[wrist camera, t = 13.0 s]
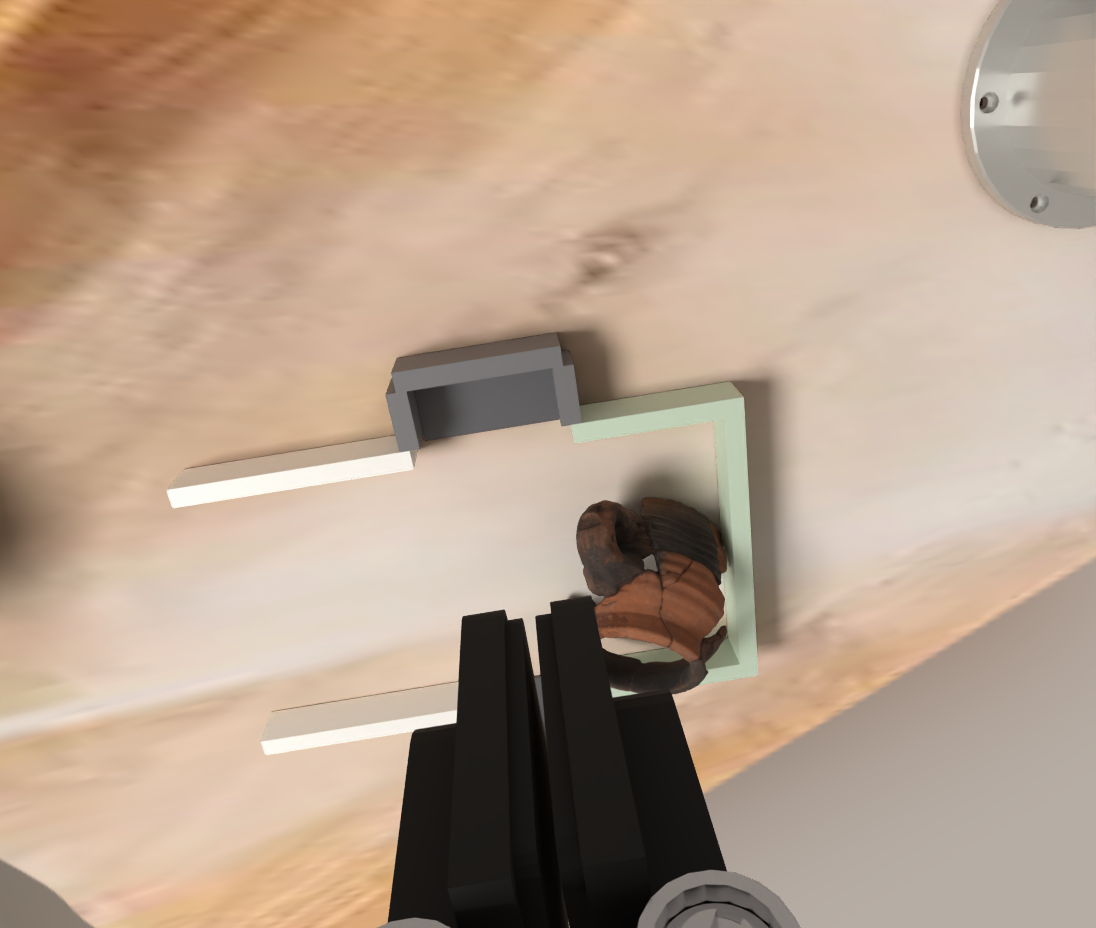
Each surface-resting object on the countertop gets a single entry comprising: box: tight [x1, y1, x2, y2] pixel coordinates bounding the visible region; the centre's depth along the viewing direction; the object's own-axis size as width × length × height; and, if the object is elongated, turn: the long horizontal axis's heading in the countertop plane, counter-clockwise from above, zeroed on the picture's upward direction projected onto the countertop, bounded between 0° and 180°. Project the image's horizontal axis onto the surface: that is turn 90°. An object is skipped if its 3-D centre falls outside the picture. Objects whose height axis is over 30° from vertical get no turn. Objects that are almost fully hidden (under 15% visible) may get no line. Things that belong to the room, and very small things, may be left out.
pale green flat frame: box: [166, 333, 758, 755], centre depth 44 cm, size 28×25×2 cm
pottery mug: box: [576, 498, 727, 694], centre depth 44 cm, size 12×10×8 cm
